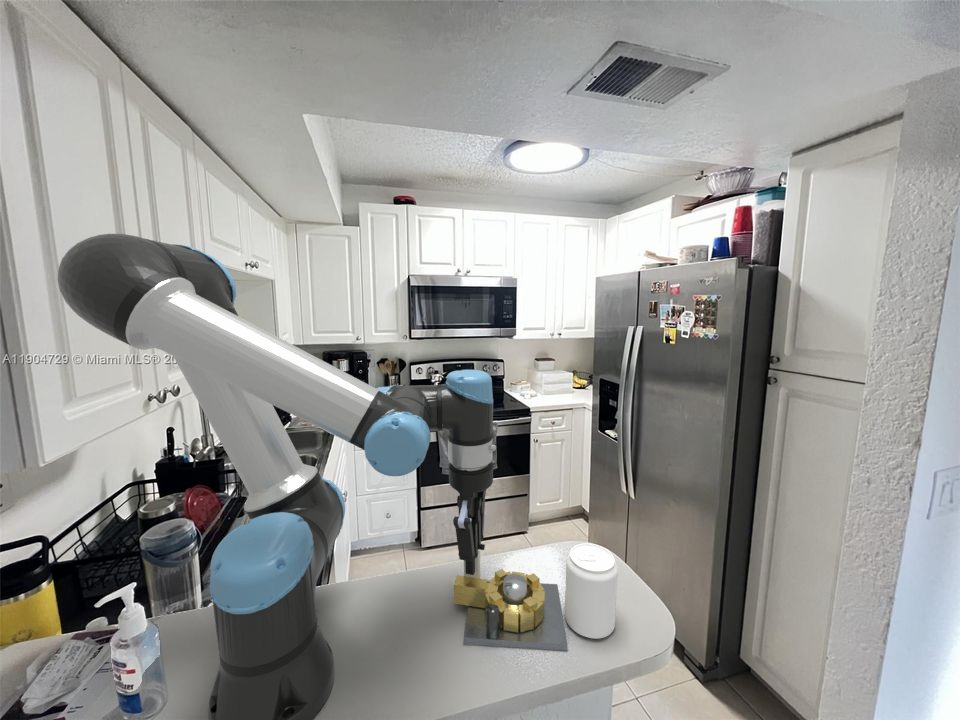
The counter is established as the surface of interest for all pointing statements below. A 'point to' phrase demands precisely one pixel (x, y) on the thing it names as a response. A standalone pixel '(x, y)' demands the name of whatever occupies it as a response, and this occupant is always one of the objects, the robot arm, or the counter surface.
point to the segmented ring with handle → (492, 593)
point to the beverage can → (591, 590)
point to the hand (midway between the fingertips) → (472, 585)
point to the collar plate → (545, 635)
